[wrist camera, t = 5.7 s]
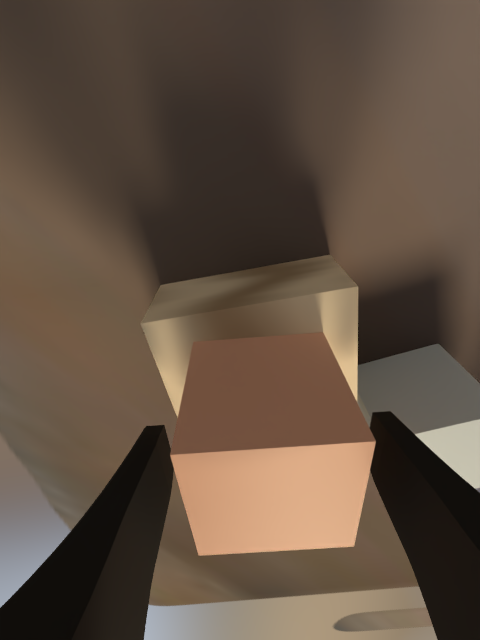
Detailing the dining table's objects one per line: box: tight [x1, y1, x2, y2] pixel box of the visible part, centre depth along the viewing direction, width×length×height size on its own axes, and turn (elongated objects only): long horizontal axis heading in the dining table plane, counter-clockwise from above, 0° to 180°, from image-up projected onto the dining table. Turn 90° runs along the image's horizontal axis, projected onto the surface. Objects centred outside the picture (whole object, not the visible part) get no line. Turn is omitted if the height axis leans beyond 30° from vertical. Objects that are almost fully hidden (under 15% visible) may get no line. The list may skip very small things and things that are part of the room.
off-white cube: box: [357, 344, 480, 489], centre depth 16 cm, size 5×5×5 cm
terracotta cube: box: [170, 332, 376, 556], centre depth 11 cm, size 5×5×5 cm
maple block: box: [141, 255, 358, 417], centre depth 15 cm, size 8×8×4 cm
